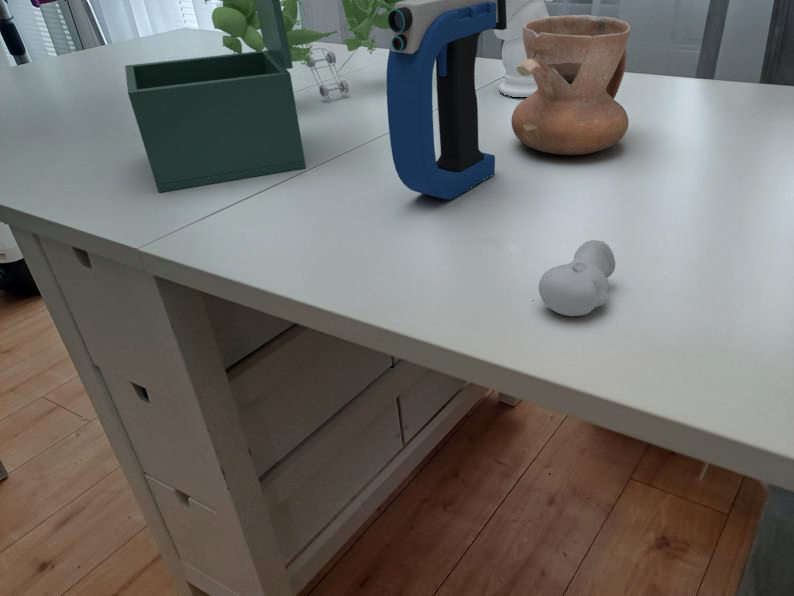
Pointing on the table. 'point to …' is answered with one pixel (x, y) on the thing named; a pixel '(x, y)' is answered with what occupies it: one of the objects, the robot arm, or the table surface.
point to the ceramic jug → (573, 84)
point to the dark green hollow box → (215, 118)
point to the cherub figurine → (518, 45)
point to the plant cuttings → (301, 30)
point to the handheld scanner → (438, 92)
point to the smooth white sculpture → (579, 280)
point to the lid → (274, 30)
